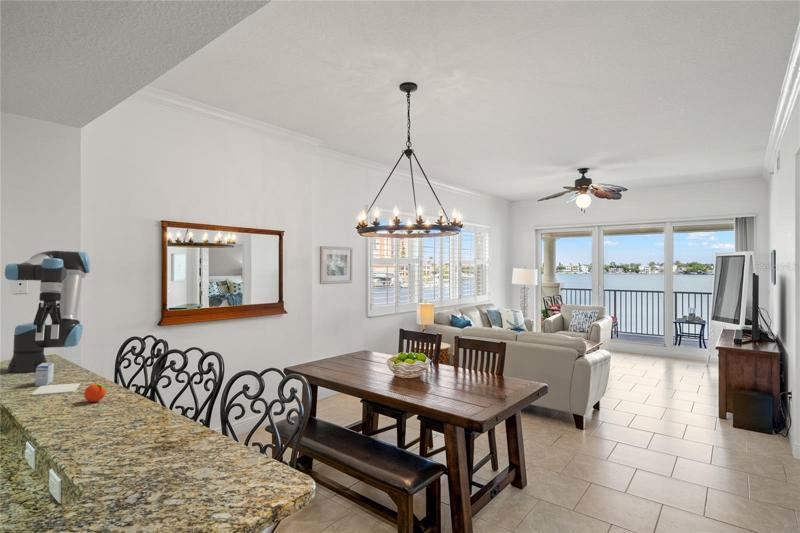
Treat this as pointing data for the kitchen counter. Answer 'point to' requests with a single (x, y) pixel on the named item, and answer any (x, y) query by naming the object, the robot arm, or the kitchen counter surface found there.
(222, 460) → the kitchen counter surface
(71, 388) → the mat
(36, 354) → the robot arm
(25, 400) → the kitchen counter surface
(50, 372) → the medicine box
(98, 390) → the clementine
